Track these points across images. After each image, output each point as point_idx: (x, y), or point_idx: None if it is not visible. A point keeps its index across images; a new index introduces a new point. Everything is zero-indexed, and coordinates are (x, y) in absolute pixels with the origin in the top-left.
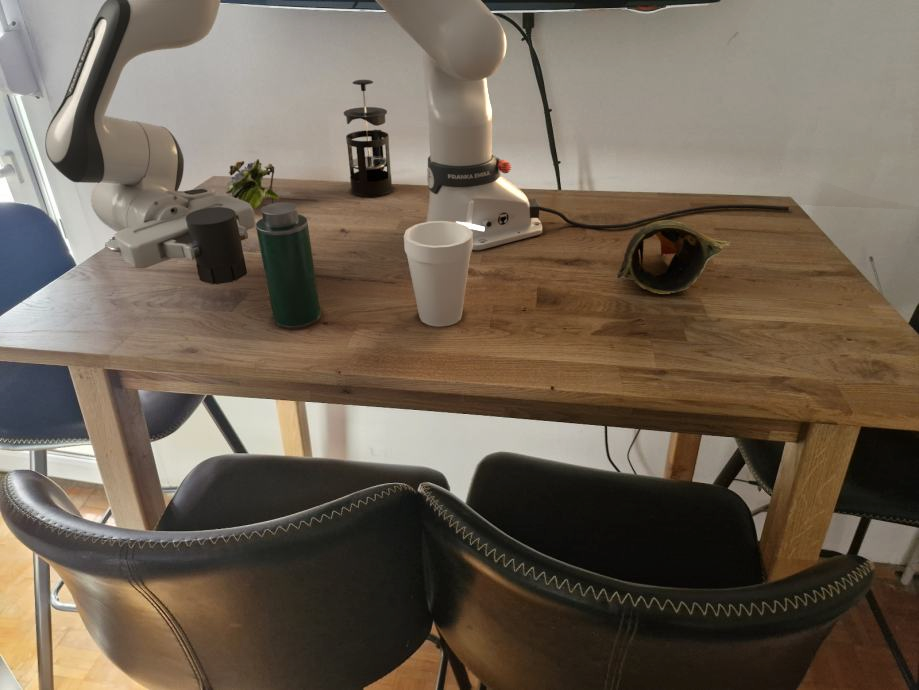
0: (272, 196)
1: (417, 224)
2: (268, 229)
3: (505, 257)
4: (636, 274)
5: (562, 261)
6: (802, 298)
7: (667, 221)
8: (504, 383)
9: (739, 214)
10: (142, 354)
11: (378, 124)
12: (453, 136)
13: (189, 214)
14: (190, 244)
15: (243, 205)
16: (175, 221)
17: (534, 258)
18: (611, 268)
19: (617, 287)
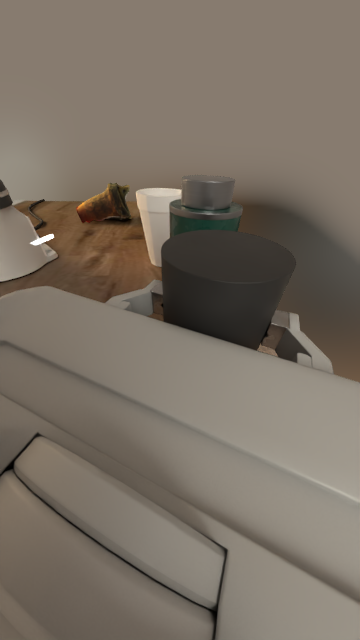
0: None
1: (145, 195)
2: (236, 206)
3: (74, 248)
4: (118, 217)
5: (86, 235)
6: (130, 206)
7: (110, 183)
8: None
9: (41, 206)
10: None
11: None
12: None
13: (250, 279)
14: (281, 319)
15: (37, 292)
16: (197, 420)
17: (79, 241)
18: (99, 226)
19: (121, 225)
